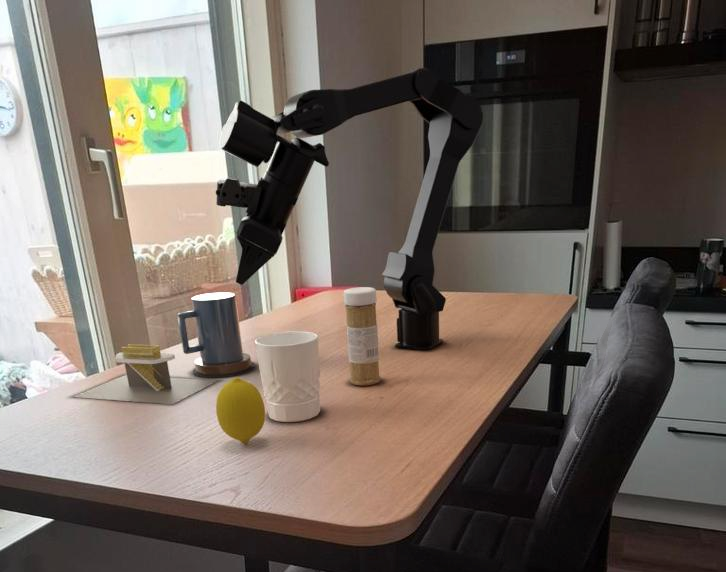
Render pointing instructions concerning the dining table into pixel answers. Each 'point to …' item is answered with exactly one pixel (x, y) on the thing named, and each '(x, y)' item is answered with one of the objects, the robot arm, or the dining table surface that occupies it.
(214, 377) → the base
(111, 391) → the platform
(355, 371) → the spice jar
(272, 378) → the white cup
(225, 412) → the lemon
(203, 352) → the mug
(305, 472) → the dining table surface
